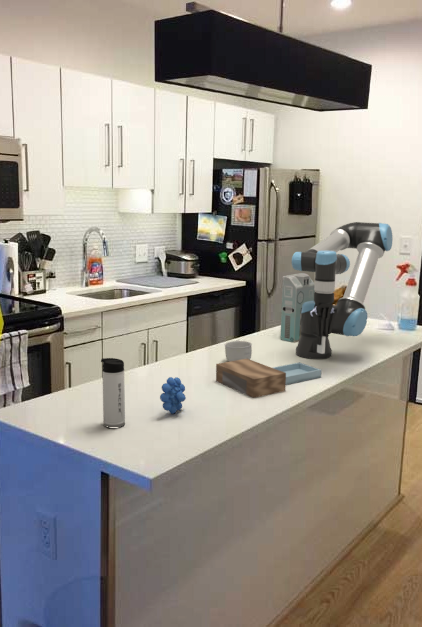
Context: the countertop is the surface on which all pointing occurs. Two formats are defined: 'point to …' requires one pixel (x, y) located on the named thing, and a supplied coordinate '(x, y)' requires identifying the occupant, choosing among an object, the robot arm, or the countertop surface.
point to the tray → (299, 372)
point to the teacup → (238, 350)
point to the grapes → (172, 395)
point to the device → (294, 304)
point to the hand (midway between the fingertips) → (320, 352)
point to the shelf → (250, 377)
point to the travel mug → (113, 392)
